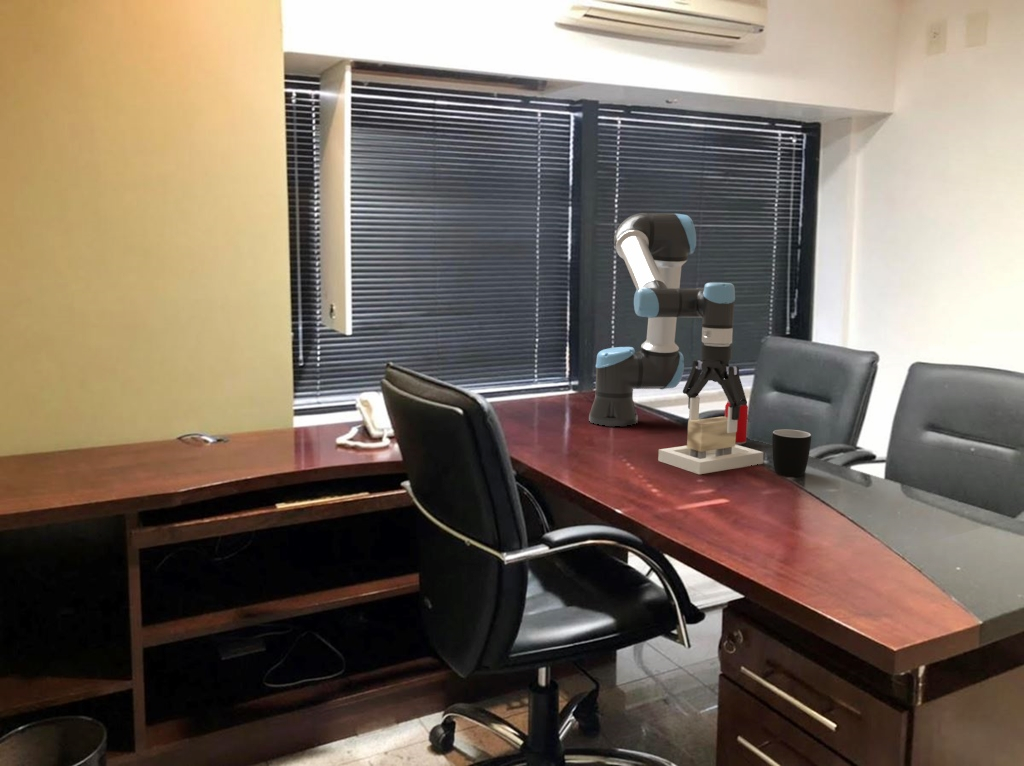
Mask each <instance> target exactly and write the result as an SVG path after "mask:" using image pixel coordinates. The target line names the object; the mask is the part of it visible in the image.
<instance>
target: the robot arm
mask: <svg viewBox="0 0 1024 766" xmlns="http://www.w3.org/2000/svg"><path fill="white" fill-rule="evenodd" d="M613 242H614V247H615V251H616V253H617V255H618V256H619V257H620V258H621V259H623V260H624V262H625V263H624V264H625V265H626V268H627V270H628V272H629V275H630V277H631V280H632V282H633V285H634V286H635V289H636V290H635V293H634V297H633V307H634V312H635V315H636V316H638V317H639V318H648V319H647V328H646V329H647V331H646V340H645V341H644V342H642V343H641V346H640V351H636V350H635V348H634V347H632V346H618V347H617V346H615V347H610V348H609V347H608V348H606V349H605V348H604V349H602V350H600V351H598V353H597V355H596V361H595V391H594V392H595V395H594V396H595V397H594V399H593V400H594V401H593V403H592V406H591V409H590V411H589V415H588V422H589V421H590V422H589V423H591V424H593V423H594V424H593V425H597V424H599V425H598V426H602V425H605V426H604V427H615V426H620V427H628V426H627V425H631V426H633V425H632V424H635V423H637V424H638V420H639V419H638V413H637V409H636V406H635V402H634V396H633V394H634V390H667V389H674V388H676V387H677V386H678V385H679V384H680V382H681V380H682V378H683V376H684V375H683V374H684V369H685V363H684V361H685V359H684V355H683V353H682V351H679V350H680V347H679V346H678V344H677V343H676V342H675V339H676V328H677V319H678V318H693V319H695V318H701V319H702V329H701V342H702V343H703V344H702V345H701V346H700V360H693V362H692V366H691V367H692V368H691V370H690V372H689V375H688V378H687V380H686V381H685V385H684V387H683V389H682V393H683V394H684V395H687V397H688V401H687V402H688V406H687V407H688V410H689V411H688V412H689V413H688V421H690V420H698V419H700V418H699V417H700V399H701V398H700V396H699V394H700V393H701V391H702V390H703V389H704V387H705V386H706V385H707V384H708V382H711V381H713V382H714V383H717V384H718V385H720V387H721V389H722V391H723V392H724V394H725V397H726V399H727V401H729V403H730V406H729V407H728V419H727V433H732V432H737V420H739V415H740V407H741V406H743V405H747V406H748V401H747V397H746V395H745V391H744V387H743V384H742V381H741V378H740V377H741V376H740V368H739V366H738V365H734V366H730V365H729V364H730V361H731V360H732V352H733V351H732V350H733V349H732V345H731V344H733V333H734V332H733V329H734V314H735V302H736V301H735V300H736V291H735V288H736V287H735V285H734V284H733V283H731V282H707V283H705V284H704V287H697V288H680V286H681V274H682V266H683V265H684V264H685V263H686V262H688V255H692V254H694V252H695V250H696V249H695V248H697V233H696V228H695V225H694V221H693V220H692V218H691V217H690V215H687V214H681V213H646V212H644V213H643V212H641V213H635V214H633V215H630V216H629V217H627V218H626V219H624V220H623V221H622V222H621V224H620V225H619V226H618V227H617V229H616V231H615V234H614V238H613ZM635 425H636V424H635Z"/></svg>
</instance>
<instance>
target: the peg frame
mask: <svg viewBox="0 0 1024 766" xmlns="http://www.w3.org/2000/svg"><path fill="white" fill-rule="evenodd" d="M657 456H658V458H657V459H658V462H661V463H663V464H666V465H670V466H672V467H676V468H679V469H682V470H685V471H688V472H691V473H694V474H697V475H702V474H704V475H705V474H709V473H716V472H721V471H728V470H732V469H733V470H734V469H741V468H746V467H752V466H756V465H757V464H758V465H763V463H764V451H762V450H761V451H760V450H757V449H753V448H749V447H746V446H742V445H735V447H728V448H722V449H715V450H709V451H702V452H700V451H697V450H693V449H690V448H687V445H682V446H674V447H668V448H667V447H666V448H661V449H660V448H659V449H658V455H657ZM751 465H752V466H751Z"/></svg>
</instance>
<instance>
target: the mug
mask: <svg viewBox="0 0 1024 766" xmlns="http://www.w3.org/2000/svg"><path fill="white" fill-rule="evenodd" d="M771 438H772V439H771V440H772V441H771V442H772V444H771V445H772V450H771V451H772V463H773V468H774V472H775V473H776V474H777V475H780V476H783V477H788V478H789V477H792V478H795V477H796V478H797V477H801V476H804V474H805V472H806V469H807V466H808V461H809V456H810V450H811V444H812V434H811V433H810V432H807V431H804V430H796V429H783V428H782V429H775V430H773V431H772V437H771Z"/></svg>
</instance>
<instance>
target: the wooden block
mask: <svg viewBox="0 0 1024 766" xmlns="http://www.w3.org/2000/svg"><path fill="white" fill-rule="evenodd" d="M727 419H728V418H727V417H725V416H716V417H715V416H714V417H708V418H699V419H698V420H690V421H689V420H688V421H687V437H686V439H687V441H686V446H687V448H690V449H693V450H697V451H700V452H702V451H709V450H715V449H722V448H728V447H735V440H736V432H732V433H727Z"/></svg>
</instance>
